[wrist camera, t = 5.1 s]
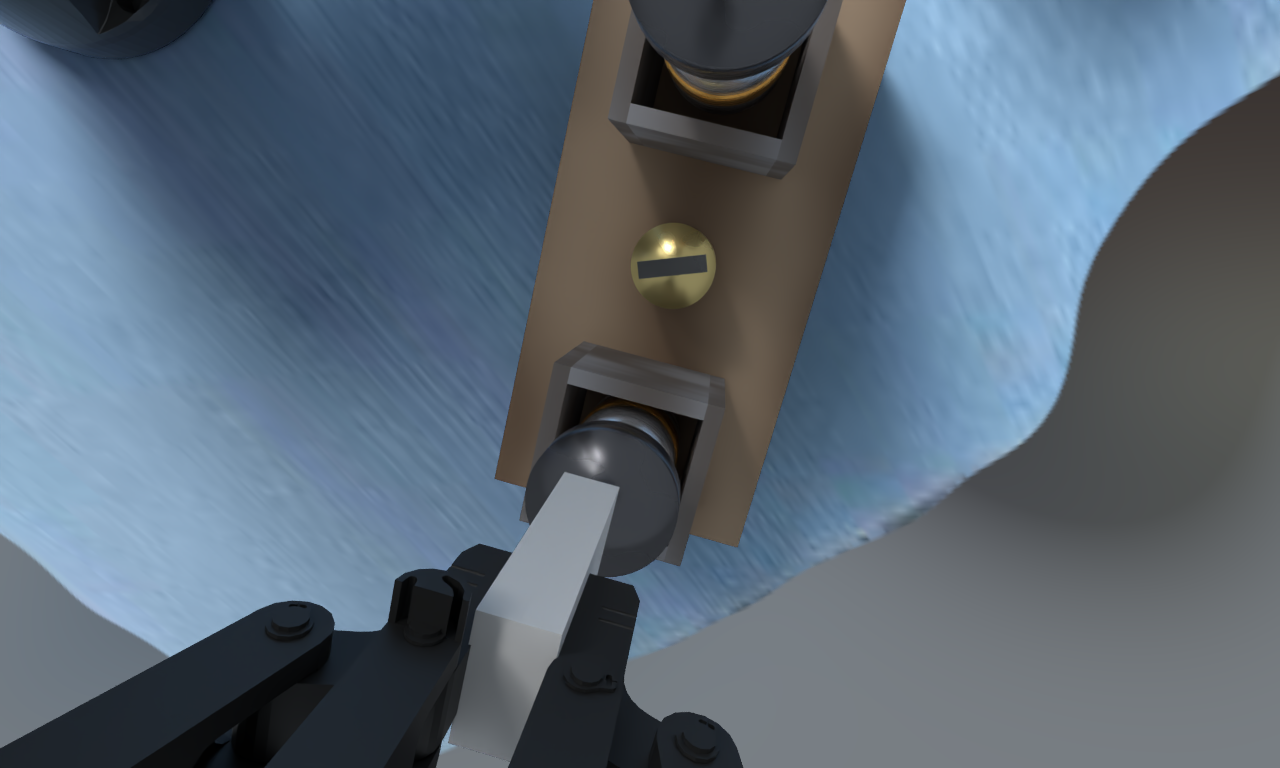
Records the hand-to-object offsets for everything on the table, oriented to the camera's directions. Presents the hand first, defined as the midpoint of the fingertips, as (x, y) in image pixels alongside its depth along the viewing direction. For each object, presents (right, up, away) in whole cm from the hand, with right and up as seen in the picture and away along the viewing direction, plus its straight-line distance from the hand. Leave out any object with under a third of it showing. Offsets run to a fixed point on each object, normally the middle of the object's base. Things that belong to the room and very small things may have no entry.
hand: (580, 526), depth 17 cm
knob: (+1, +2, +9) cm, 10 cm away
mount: (+4, +10, +15) cm, 18 cm away
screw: (+3, +8, +9) cm, 13 cm away
